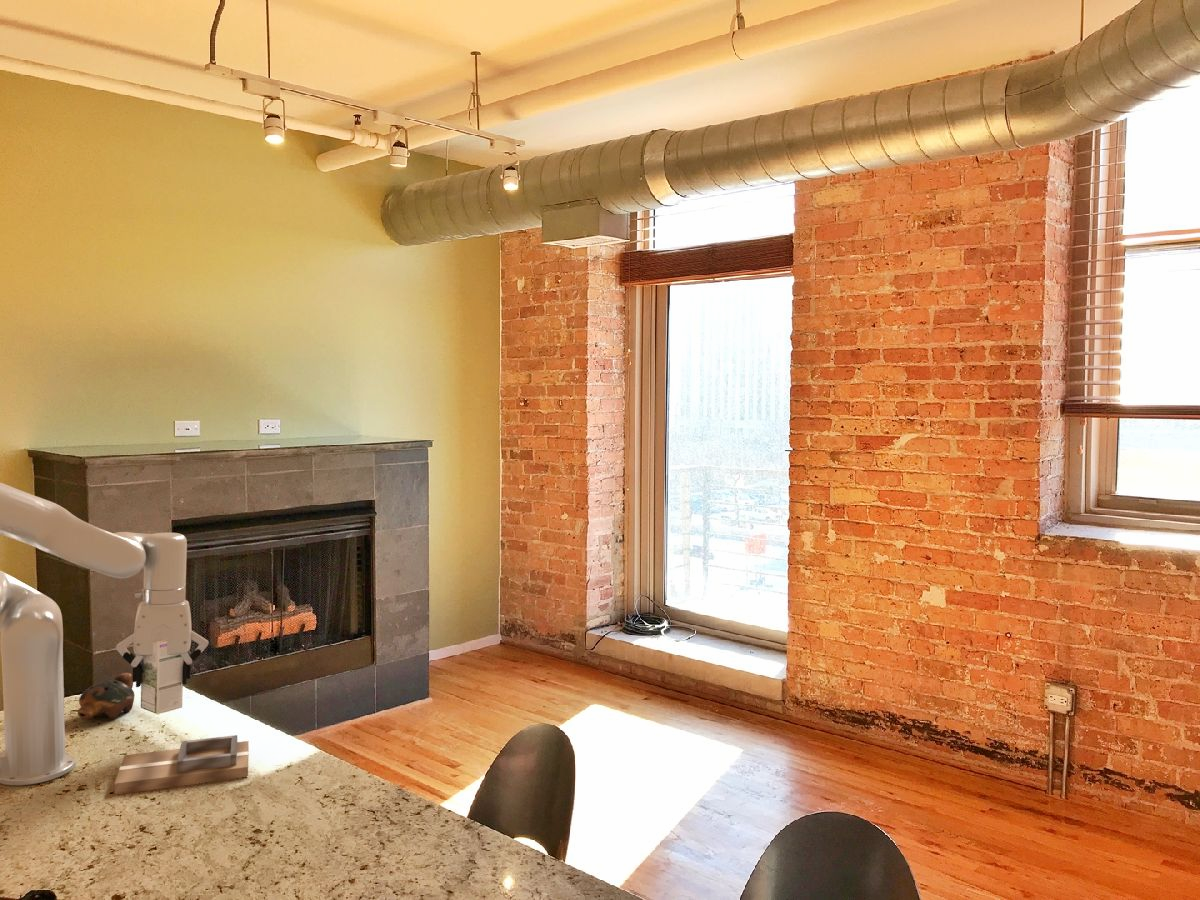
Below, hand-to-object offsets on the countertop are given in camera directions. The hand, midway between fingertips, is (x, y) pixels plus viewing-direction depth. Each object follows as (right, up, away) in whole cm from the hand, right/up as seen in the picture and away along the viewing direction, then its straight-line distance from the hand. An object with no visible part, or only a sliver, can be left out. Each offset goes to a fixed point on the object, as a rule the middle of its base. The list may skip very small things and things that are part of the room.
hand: (162, 683), depth 178 cm
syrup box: (0, -5, 0) cm, 5 cm away
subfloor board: (+9, -14, -9) cm, 19 cm away
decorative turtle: (-21, -12, +19) cm, 31 cm away
